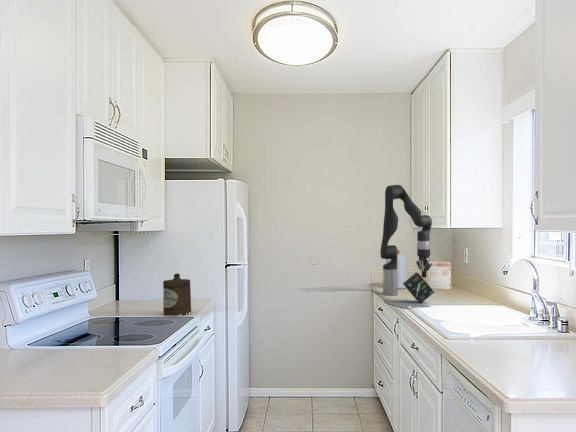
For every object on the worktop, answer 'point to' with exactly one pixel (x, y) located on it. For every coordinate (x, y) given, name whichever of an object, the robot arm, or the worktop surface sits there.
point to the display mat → (406, 304)
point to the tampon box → (418, 287)
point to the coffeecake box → (440, 275)
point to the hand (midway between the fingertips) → (424, 277)
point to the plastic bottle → (400, 270)
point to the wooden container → (176, 296)
